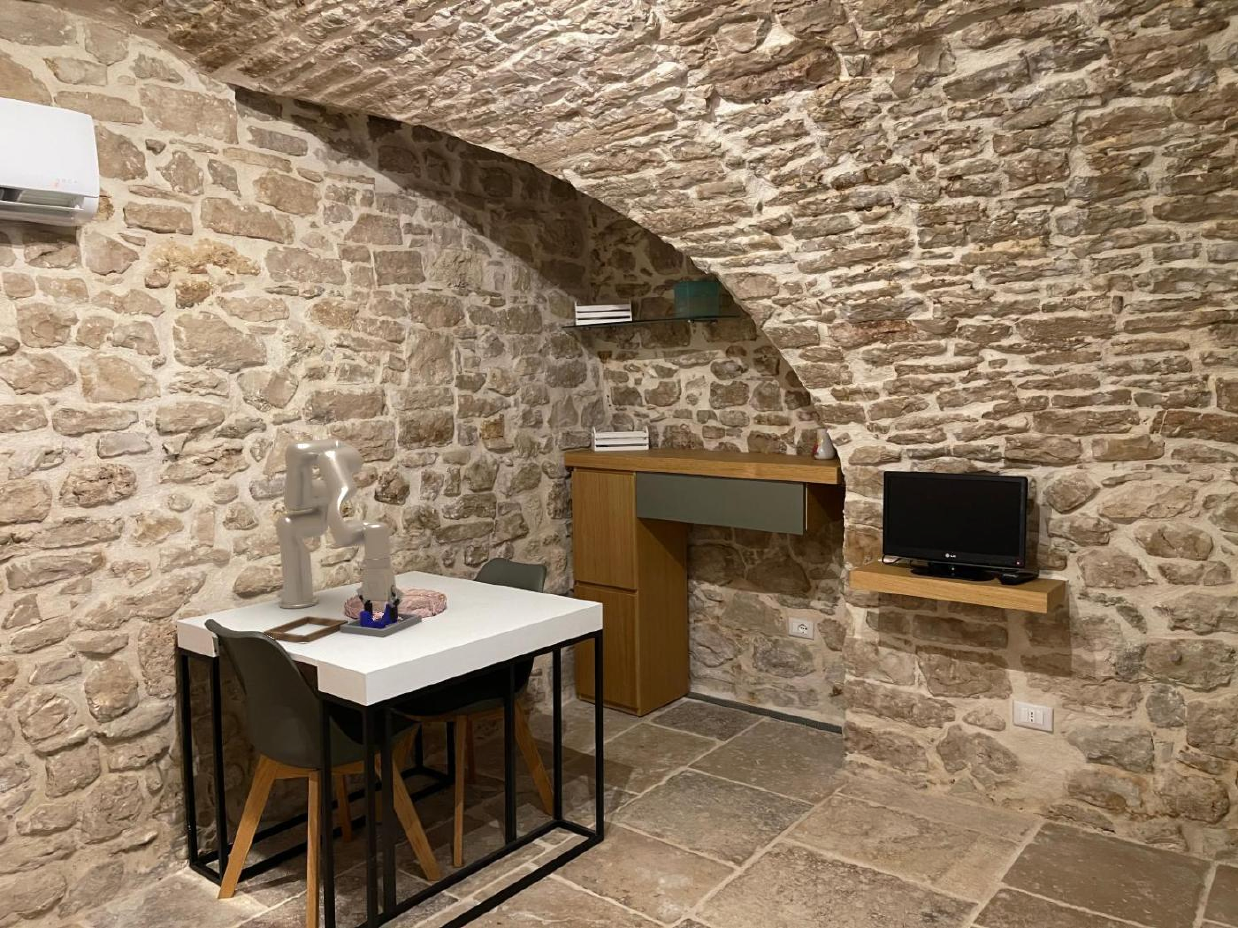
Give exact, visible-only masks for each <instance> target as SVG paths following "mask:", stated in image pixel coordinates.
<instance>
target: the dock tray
mask: <svg viewBox="0 0 1238 928" xmlns="http://www.w3.org/2000/svg"><path fill="white" fill-rule="evenodd" d="M376 612H377V613H379V612H382V613H385V610H378V611H376ZM374 615H375V614H373V615H372V616H371V617H372V618H373V616H374ZM398 616H399V617H401V618H402V619H403V620H404V621H403V620H401V621H399V622H397V623H394V624H391V625H389V626H388V627H387V626H386V628H384V629H376V628H367V627H361V625H360V617H359V618H357V619H354V620H352V621H348V623H346V624H343V625H341V626H340V633H345V634H351V635H352V634H354V635H361V636H368V637H369V636H371V637H378V638H386V637H388V636H390V635H392V634H395V633H398V632H400V631H403V630H404V629H407V628H410V627H412V626H415V625H416V624H419V623H421V622H423V619H422V618H423V617H422V614H415V613H404V612H398Z"/></svg>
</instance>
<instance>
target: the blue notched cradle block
mask: <svg viewBox="0 0 1238 928" xmlns="http://www.w3.org/2000/svg"><path fill="white" fill-rule="evenodd" d="M390 607H391V606H390V605H389V603H388V602H387V603H386V604H385V610H384V611H385V613H384V615H383V616H382V618H380V619H377V620H374V621H373V619H372V617H371V614H370V612H367V611H364V610H362V611H360V612H359V618H360V625H361V626H360V627H367V628H376V629H385V628H387V626H392V625H395V624H397V623H398V620H397V619H394V620H390V615H389V608H390Z"/></svg>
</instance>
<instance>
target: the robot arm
mask: <svg viewBox="0 0 1238 928" xmlns="http://www.w3.org/2000/svg"><path fill="white" fill-rule="evenodd" d="M284 461H285V467H286V473H285V480H284V483H285V484H284V490H283V491H284V492H283V505H284V507H285V508H286V509H287V510H288V511H292V512H287V513H285V514H281V515H280V516H279V517H278V518H277V519H276V521H275V526H274V527H275V531H276V536H277V539H278V544H279V551H280V552H279V553H280V564H281V565H280V566H281V576H282V577H281V578H282V590H279V592H278V593H277V594H276V597H277V598H281V600H280V601H279V603H278V605H279V607H280V608H283V609H301V608H307V607H312V606H314V605H317V604H318V603H319V598H318V597H315V596H314V591H313V590H314V588H313V576H312V575H313V574H312V561H311V552H310V549H309V547H308V546H307V545H306V543H305V542H304V541H303V540H306V539H311V538H318V537H321V536H323V535H325V534H326V533H327V532H328V530H330V532H331V534H332V536H333V538H334V541H335V542H336V544H337V545H339V546H340V547H342V548H351V547H356V546H360V545H362V546H364V558H363V563H364V565H365V567H363V569H362V576H361V578H362V579H361V586H360V587H358V588H357V589H356V594H357V596H358V599H359V600H360V601H361V604H362V605H363V611H367V612H370V614H371V616H372V615H373V613H374V611H373V608H374V607H373V602H383V603H384V602H387V604H388V603H389V605H390V606H391V607H390V608H389V615H390V620H394V619H397V618H398V613H399V609H398V606H400V604H401V603H402V601H403V597H404V595H405V594H404V592H403V591H402V590H400V589H399V588H398V587H397V585H396V577H395V572H394V569H393V566H392V560H391V546H390V543H391V542H390V527H389V525H388V524H387V522H379V521H376V520H375V519H371V518H369V519H366V518H365V519H361V520H355V521H348V522H345V520H344V518H343V516H342V512H341V506H342V505H343V504H345V503H346V502H348V501H349V500H351V499H352V498H353V497H354V496H356V494H357V493H358V490H359V489H358V486H357V483H356V481H355V479H354V477H353V475H352V474H353V473H354V474H355V473H358V472H359V471H361V469H362V468H363V457H362V454H361V453H360V451H359V450H358V449H357V448H356V447H355V446H353V445H351V444H349V443H346V442H344V441H342V440H339V439H338V438H337V439H336V438H328V439H327V438H326V439H325V438H324V439H313V440H302V441H301V440H300V441H294V442H292V443H289V444H288V445H287V447H286V448H285V452H284ZM313 467H317V468H318V470H319V473H320V475H321V476H322V477H321V478H322V479H323V480H321V479H316V480H313V479H314V470H313ZM328 528H329V529H328ZM372 601H373V602H372Z"/></svg>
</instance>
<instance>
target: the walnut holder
mask: <svg viewBox="0 0 1238 928" xmlns="http://www.w3.org/2000/svg"><path fill="white" fill-rule="evenodd" d="M346 623H349V620H347V619H337V618H335V619H334V618H328V617H321V616H320V617H319V616H311V615H310V616H309V615H307V616H304V617H301V618H298V619H295V620H293V621H290V622H287V623H284V624H281V625H279V626H274V627H273V628H270V629H267V630H264V631H262V632H263V633H262V635H263V634H265V635H268V636H270V637H272V638H274V639H275V641H281V640H282V641H284V642H290V643H291V642H292V643H297V642H308V643H310V642H313V641H316V640H319V639H321V638H324V637H327V636H329V635H331V634H335V633H337V632H339V631H340V626H341V625H343V624H346ZM309 624H310V625H318V626H326V627H324V628H321V629H319V630H316V631H313V632H311V633H308V634H305V635H304V634H297V633H289V631H291V630H292V631H293V630H294V629H297V628H300V627H302V626H306V625H309ZM287 632H288V633H287ZM340 632H341V631H340ZM274 639H273V640H274ZM282 641H281V642H282Z"/></svg>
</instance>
